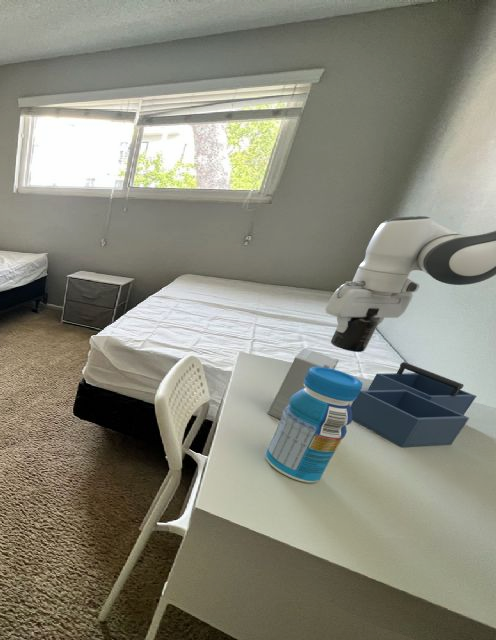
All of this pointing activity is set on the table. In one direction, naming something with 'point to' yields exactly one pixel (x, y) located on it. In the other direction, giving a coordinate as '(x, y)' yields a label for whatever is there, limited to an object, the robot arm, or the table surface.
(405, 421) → the lower bin
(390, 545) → the table surface
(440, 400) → the upper bin
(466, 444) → the table surface
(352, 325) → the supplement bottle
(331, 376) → the blue vitamin bottle
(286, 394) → the cosmetic box
